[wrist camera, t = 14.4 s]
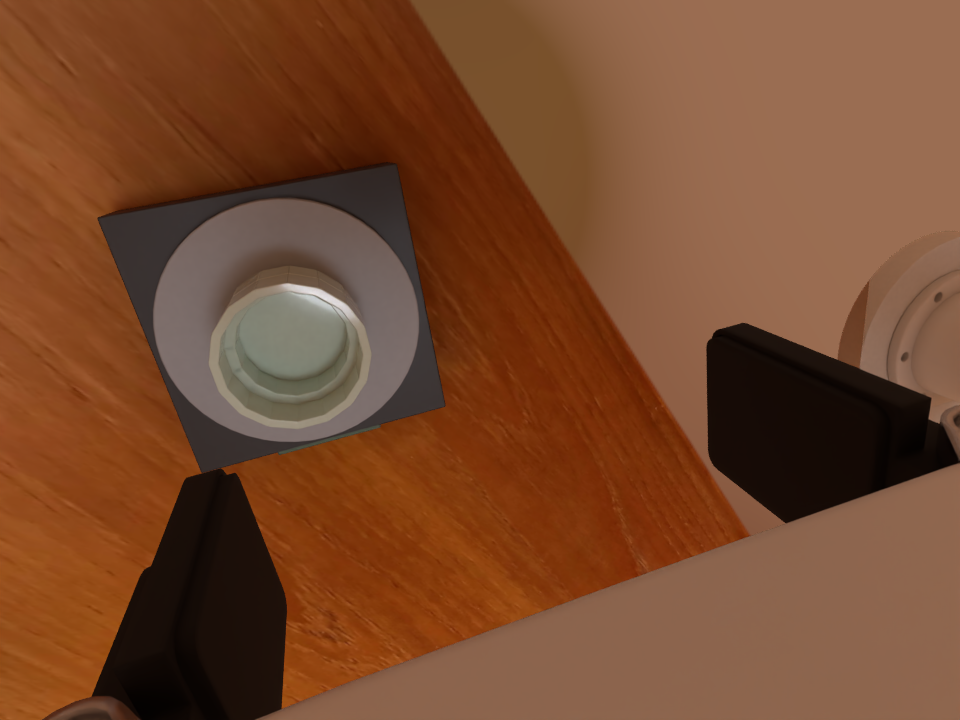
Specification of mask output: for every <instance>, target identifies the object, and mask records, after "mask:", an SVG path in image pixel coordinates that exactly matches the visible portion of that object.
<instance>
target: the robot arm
mask: <svg viewBox="0 0 960 720" xmlns="http://www.w3.org/2000/svg"><path fill="white" fill-rule="evenodd" d="M887 371H888V377H889V380H886V379H884V378H881V377H879V376H876V375H874V374H871V373H869V372H866V371H864V370H861V369H859V368H856V367H854V366H851V365H849V364H846V363H844V362H841V361H839V360H836V359H834V358H831V357H829V356H826V355H824V354H821V353H819V352H816V351H814V350H811V349H809V348H806V347H804V346H802V345H799V344H797V343H794V342H792V341H789V340H787V339H784V338H782V337H779V336H777V335H774V334H772V333H769V332H767V331H764V330H762V329H759V328H757V327H754V326H752V325H749V324H746V323H741V324H737V325H734V326H730V327H726V328H723V329H719V330H717V331H715V333H714V334H713V336H712V339H710V340H709V341H708V343H707V406H708V407H707V409H708V452H709V457H710V460H711V461H712V464H713V465H714V466H715V467H716V468H717V469H718V470H719V471H720V472H722V473H723V474H724V475H725V476H727V477H728V478H729V479H730V480H732V481H733V482H734V483H735V484H737V485H738V486H739V487H740V488H742V489H743V490H744V491H745V492H747V493H748V494H749V495H751V496H752V497H753V498H754V499H756V500H757V501H758V502H759V503H761V504H762V505H763V506H764V507H766V508H767V509H768V510H769V511H771V512H772V513H773V514H775V515H776V516H777V517H778V518H780V519H781V520H782V521H783V522H785V523H786V524H783V525H780V526H778V527H775V528H772V529H770V530H766V531H764V532H761V533H758V534H755V535H752V536H749V537H747V538H744V539H741V540H738V541H735V542H733V543H730V544H727V545H724V546H721V547H719V548H716V549H713V550H710V551H707V552H705V553H702V554H699V555H696V556H693V557H691V558H688V559H685V560H682V561H680V562H677V563H674V564H671V565H669V566H666V567H663V568H660V569H658V570H655V571H652V572H649V573H647V574H644V575H641V576H638V577H635V578H633V579H630V580H627V581H624V582H622V583H619V584H616V585H613V586H611V587H608V588H605V589H602V590H600V591H597V592H594V593H591V594H589V595H586V596H583V597H580V598H578V599H575V600H572V601H569V602H567V603H564V604H561V605H558V606H556V607H553V608H550V609H547V610H545V611H542V612H539V613H536V614H534V615H531V616H528V617H525V618H523V619H520V620H517V621H515V622H512V623H509V624H506V625H504V626H501V627H498V628H496V629H493V630H490V631H487V632H485V633H482V634H479V635H477V636H474V637H471V638H469V639H466V640H463V641H460V642H458V643H455V644H452V645H449V646H447V647H444V648H441V649H439V650H436V651H433V652H430V653H428V654H425V655H422V656H419V657H417V658H414V659H411V660H408V661H406V662H403V663H400V664H398V665H395V666H392V667H389V668H387V669H384V670H381V671H378V672H376V673H373V674H370V675H367V676H365V677H362V678H359V679H357V680H354V681H351V682H348V683H346V684H343V685H341V686H338V687H336V688H333V689H331V690H328V691H326V692H323V693H321V694H318V695H316V696H313V697H311V698H308V699H306V700H303V701H301V702H298V703H296V704H293V705H291V706H288V707H286V708H283V709H281V707H282V689H283V671H284V653H285V635H286V617H287V605H286V598H285V593H284V590H283V587H282V585H281V582H280V580H279V577H278V575H277V572H276V569H275V567H274V564H273V562H272V559H271V557H270V554H269V552H268V549H267V547H266V544H265V542H264V539H263V537H262V534H261V532H260V529H259V527H258V524H257V522H256V519H255V516H254V514H253V511H252V509H251V506H250V504H249V501H248V499H247V496H246V494H245V491H244V489H243V486H242V484H241V481H240V479H239V477H238V475H237V474H236V473H233V474H229V475H226V473H225V472H224V470H222V469H221V468H220V469H217V470H213V471H209V472H206V473H202V474H199V475H195V476H191V477H188V478H186V479H185V480H184V483H183V485H182V488H181V490H180V493H179V496H178V498H177V501H176V503H175V506H174V508H173V511H172V514H171V516H170V519H169V521H168V524H167V527H166V529H165V532H164V534H163V537H162V540H161V542H160V545H159V547H158V550H157V553H156V555H155V558H154V560H153V563H152V565H151V567H148V568H147V569H145V570H144V571H143V573H142V574H141V576H140V578H139V580H138V583H137V585H136V588H135V590H134V593H133V595H132V598H131V600H130V603H129V605H128V608H127V610H126V613H125V615H124V617H123V620H122V622H121V625H120V627H119V630H118V632H117V635H116V637H115V640H114V642H113V645H112V647H111V650H110V652H109V655H108V657H107V660H106V662H105V665H104V667H103V670H102V672H101V675H100V677H99V680H98V682H97V684H96V687H95V689H94V692H93V694H92V697H89V698H86V699H82V700H79V701H75V702H73V703H71V704H69V705H67V706H65V707H63V708H61V709H58V710H56V711H54V712H53V713H51V714H50V715H48V716H47V717H45V718H44V719H42V720H960V405H955V406H953V407H951V408H948V409H946V410H945V411H944V412H943V413H942V415H941V418H940V424H938V423H936V422H934V421H932V420H929V413H930V407H931V406H937V405H940V404H943V403H946V402H949V401H951V400H954V401H956V402H959V403H960V270H957V271H954V272H950V273H948V274H946V275H944V276H942V277H940V278H939V279H937V280H936V281H934V282H933V283H931V284H930V285H929V286H927V287H926V288H925V289H924V290H923V291H922V292H921V293H920V294H919V295H918V296H917V297H916V298H915V299H914V300H913V302H912V303H911V304H910V305H909V307H908V308H907V309H906V311H905V313H904V314H903V316H902V317H901V319H900V321H899V323H898V325H897V327H896V329H895V331H894V333H893V336H892V340H891V343H890V346H889V351H888V357H887Z"/></svg>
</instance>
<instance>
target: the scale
mask: <svg viewBox="0 0 960 720" xmlns="http://www.w3.org/2000/svg"><path fill="white" fill-rule="evenodd" d="M98 221H99V224H100V226H101V229H102V231H103V233H104V236H105V238H106V241H107V243H108V246H109V248H110V250H111V253H112V255H113V258H114V260H115V263H116V265H117V268H118V270H119V272H120V275H121V277H122V280H123V282H124V285H125V287H126V290H127V292H128V294H129V297H130V299H131V302H132V304H133V307H134V309H135V311H136V314H137V316H138V319H139V321H140V324H141V326H142V329H143V331H144V333H145V336H146V338H147V341H148V343H149V346H150V348H151V350H152V353H153V355H154V358H155V360H156V363H157V365H158V368H159V370H160V372H161V375H162V377H163V380H164V382H165V385H166V387H167V390H168V392H169V394H170V397H171V399H172V402H173V404H174V407H175V409H176V411H177V414H178V416H179V419H180V421H181V424H182V426H183V429H184V431H185V433H186V436H187V438H188V441H189V443H190V446H191V448H192V450H193V453H194V455H195V458H196V460H197V463H198V465H199V468H200V470H201V472H202V473H204V472H207V471H211V470H215V469H218V468H222V467H226V466H229V465H233V464H237V463H240V462H244V461H248V460H251V459H255V458H259V457H262V456H266V455H270V454H273V453H277V452H278V454H279V455H281V454H285V453H288V452H292V451H296V450H299V449H303V448H307V447H310V446H314V445H318V444H321V443H325V442H328V441H332V440H336V439H339V438H343V437H347V436H350V435H354V434H358V433H361V432H365V431H369V430H372V429H376V428H380V424H383V423H387V422H391V421H394V420H398V419H402V418H405V417H409V416H413V415H416V414H420V413H424V412H427V411H431V410H435V409H438V408H442V407H445V401H444V396H443V391H442V386H441V381H440V376H439V371H438V366H437V361H436V356H435V351H434V346H433V341H432V336H431V331H430V326H429V321H428V316H427V311H426V306H425V301H424V296H423V291H422V287H421V282H420V277H419V272H418V267H417V262H416V257H415V252H414V247H413V242H412V237H411V232H410V227H409V222H408V217H407V212H406V207H405V202H404V197H403V192H402V187H401V182H400V177H399V172H398V167H397V164H395V163H389V162H386V163H381V164H375V165H370V166H364V167H358V168H353V169H347V170H342V171H336V172H331V173H325V174H320V175H314V176H308V177H303V178H297V179H292V180H286V181H281V182H275V183H269V184H264V185H258V186H253V187H247V188H242V189H236V190H230V191H225V192H219V193H214V194H208V195H203V196H197V197H192V198H186V199H180V200H175V201H169V202H164V203H158V204H153V205H147V206H141V207H136V208H130V209H125V210H119V211H115V212H112V213H109V214H106V215H104V216H101V217H98ZM283 266H296V267H302V268H308V269H314V270H317V271H320V272H322V273H323V274H325V275H327V276H328V277H330V278H332V279H333V280H335V281H337V282H338V283H340V284H341V285H343V287H344V288H345V289H346V291H347V292H348V293H349V295H350V296H351V297H352V299H353V300H354V301H355V303H356V304H357V306H358V308H359V311H360V314H361V317H362V320H363V322H364V325H365V328H366V332H367V336H368V340H369V345H370V349H371V353H372V357H371V362H370V368H369V374H368V379H367V382H366V384H365V385H364V387H363V388H362V390H361V391H360V393H359V395H358V396H357V398H356V399H355V401H354V402H353V404H351V406H349V407H348V408H346V409H345V410H344V411H342V412H341V413H339V414H338V415H336V416H335V417H334V418H332V419H331V420H329V421H327V422H324V423H320V424H316V425H313V426H309V427H305V428H301V429H290V428H277V427H268V426H265V425H263V424H261V423H259V422H256V421H254V420H252V419H250V418H247V417H245V416H243V415H241V414H240V413H238V412H237V411H236V410H235V408H234V407H233V406H232V405H231V404H230V403H229V402H228V401H227V400H226V399H225V398H224V397H223V396H222V395H221V394H220V393H219V391H218V389H217V386H216V384H215V381H214V378H213V376H212V373H211V370H210V368H209V363H208V362H209V351H210V341H211V334H212V332H213V330H214V328H215V326H216V324H217V322H218V320H219V318H220V316H221V314H222V312H223V309H224V308H225V306H226V305H227V303H228V301H229V300H230V298H231V296H232V295H233V293H234V291H235V290H236V288H237V287H238V286H240V285H241V284H242V283H244V282H245V281H247V280H248V279H250V278H251V277H253V276H254V275H256V274H257V273H259V272H261V271H264V270H269V269H273V268H278V267H283Z"/></svg>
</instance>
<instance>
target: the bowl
mask: <svg viewBox="0 0 960 720" xmlns="http://www.w3.org/2000/svg"><path fill="white" fill-rule="evenodd" d="M371 357H372V353H371V349H370V345H369V340H368V336H367V332H366V328H365V325H364V322H363V320H362V317H361V314H360V311H359V308H358V306H357V304H356V303H355V301H354V300H353V299H352V297H351V296H350V295H349V293H348V292H347V291H346V289H345V288H344V287H343V285H341V284H340V283H338V282H337V281H335V280H333V279H332V278H330V277H328V276H327V275H325V274H323V273H322V272H320V271H317V270H314V269H308V268H302V267H296V266H283V267H278V268H273V269H269V270H264V271H261V272H259V273H257V274H256V275H254V276H253V277H251V278H250V279H248V280H247V281H245V282H244V283H242V284H241V285H240V286H238V287H237V288H236V290H235V291H234V293H233V295H232V296H231V298H230V300H229V301H228V303H227V305H226V306H225V308H224V309H223V312H222V314H221V316H220V318H219V320H218V322H217V324H216V326H215V328H214V330H213V332H212V334H211V341H210V351H209V362H208V363H209V368H210V370H211V373H212V376H213V378H214V381H215V384H216V386H217V389H218V391H219V393H220V394H221V395H222V396H223V397H224V398H225V399H226V400H227V401H228V402H229V403H230V404H231V405H232V406H233V407H234V408H235V410H236V411H237V412H238V413H240V414H241V415H243V416H245V417H247V418H250V419H252V420H254V421H256V422H259V423H261V424H263V425H265V426H268V427H277V428H290V429H301V428H305V427H309V426H313V425H316V424H320V423H324V422H327V421H329V420H331V419H332V418H334V417H335V416H336V415H338V414H339V413H341V412H342V411H344V410H345V409H346V408H348V407H349V406H351V404H353V402H354V401H355V399H356V398H357V396H358V395H359V393H360V391H361V390H362V388H363V387H364V385H365V384H366V382H367V379H368V374H369V368H370V362H371Z"/></svg>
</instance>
